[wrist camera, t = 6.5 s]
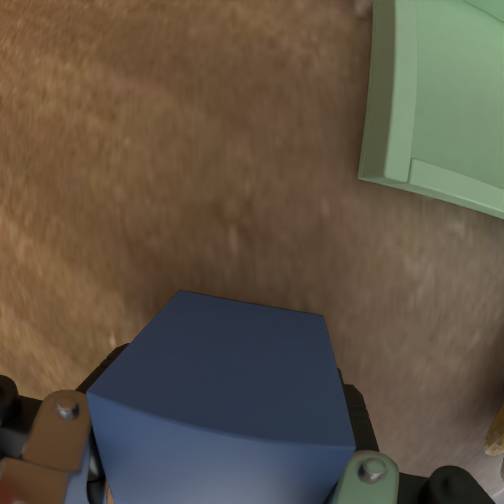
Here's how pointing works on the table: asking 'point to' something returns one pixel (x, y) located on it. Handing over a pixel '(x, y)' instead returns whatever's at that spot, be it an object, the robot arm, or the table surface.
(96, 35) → the table surface
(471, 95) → the green tray
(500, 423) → the seashell
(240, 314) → the blue block
